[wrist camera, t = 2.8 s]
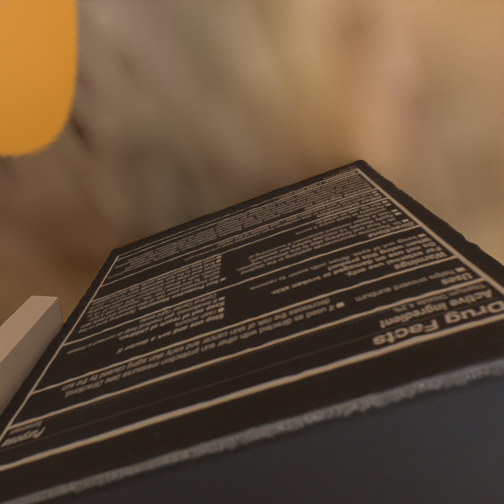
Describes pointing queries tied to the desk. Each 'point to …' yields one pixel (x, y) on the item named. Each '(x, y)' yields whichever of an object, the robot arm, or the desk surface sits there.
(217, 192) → the desk surface
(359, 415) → the small box
